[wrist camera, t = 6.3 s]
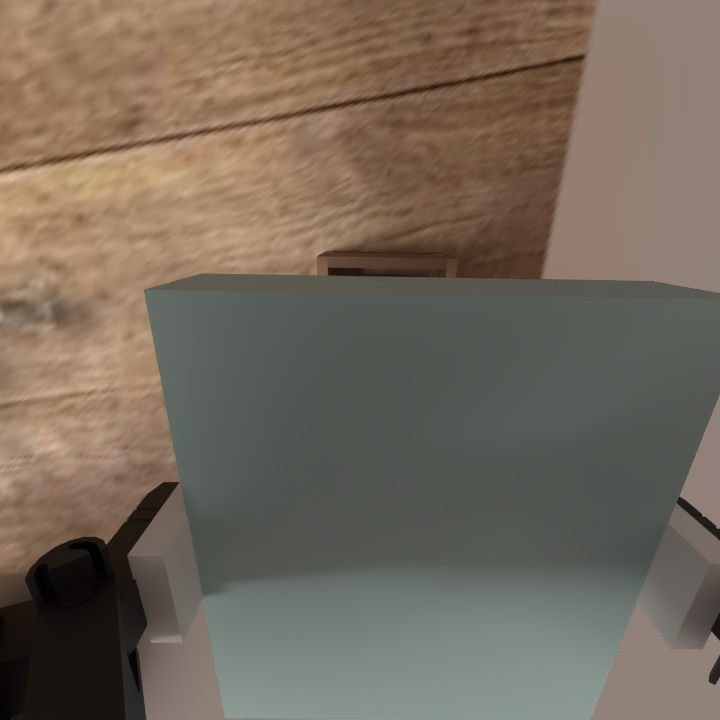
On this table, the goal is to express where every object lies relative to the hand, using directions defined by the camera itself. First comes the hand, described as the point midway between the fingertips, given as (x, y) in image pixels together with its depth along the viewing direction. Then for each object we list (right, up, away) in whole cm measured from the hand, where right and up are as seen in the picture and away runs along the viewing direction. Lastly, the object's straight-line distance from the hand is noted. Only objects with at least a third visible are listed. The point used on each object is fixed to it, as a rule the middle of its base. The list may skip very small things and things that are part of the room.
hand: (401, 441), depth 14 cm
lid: (0, -1, -3) cm, 3 cm away
